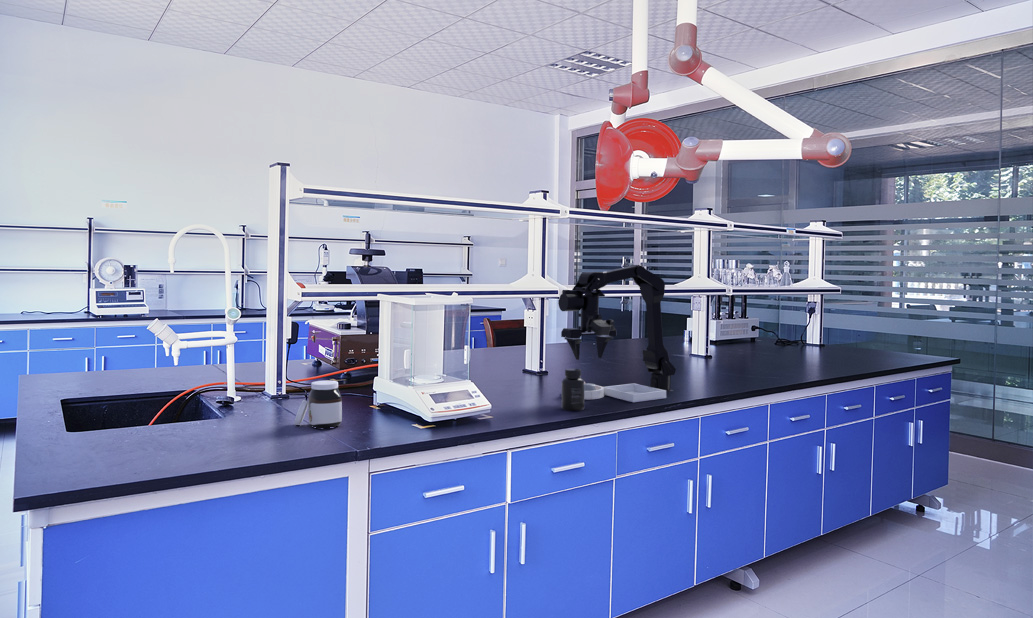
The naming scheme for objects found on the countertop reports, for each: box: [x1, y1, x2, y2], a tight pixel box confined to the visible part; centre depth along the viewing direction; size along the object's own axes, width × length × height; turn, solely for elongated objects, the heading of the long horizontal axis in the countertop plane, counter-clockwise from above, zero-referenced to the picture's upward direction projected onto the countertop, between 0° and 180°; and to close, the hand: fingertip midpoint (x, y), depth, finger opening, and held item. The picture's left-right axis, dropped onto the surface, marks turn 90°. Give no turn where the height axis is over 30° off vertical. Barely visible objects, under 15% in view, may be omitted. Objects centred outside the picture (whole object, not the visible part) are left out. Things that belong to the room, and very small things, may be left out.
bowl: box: [584, 384, 605, 400], centre depth 218 cm, size 13×13×3 cm
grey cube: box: [584, 382, 596, 391], centre depth 215 cm, size 4×4×4 cm
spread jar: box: [293, 379, 343, 428], centre depth 174 cm, size 12×11×12 cm
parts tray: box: [602, 383, 667, 403], centre depth 218 cm, size 14×15×3 cm
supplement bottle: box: [561, 368, 585, 412], centre depth 199 cm, size 7×7×12 cm
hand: (588, 358), depth 215 cm, fingers open, 9 cm apart
